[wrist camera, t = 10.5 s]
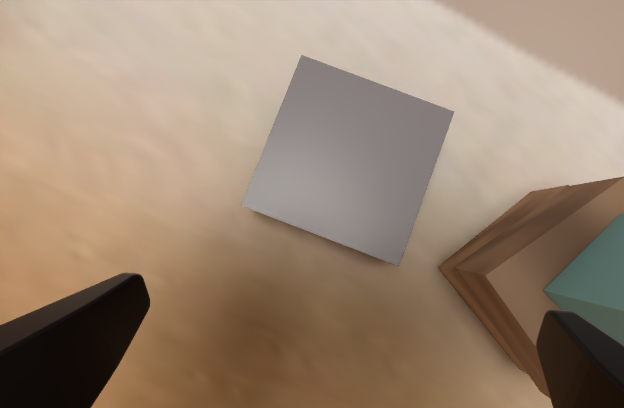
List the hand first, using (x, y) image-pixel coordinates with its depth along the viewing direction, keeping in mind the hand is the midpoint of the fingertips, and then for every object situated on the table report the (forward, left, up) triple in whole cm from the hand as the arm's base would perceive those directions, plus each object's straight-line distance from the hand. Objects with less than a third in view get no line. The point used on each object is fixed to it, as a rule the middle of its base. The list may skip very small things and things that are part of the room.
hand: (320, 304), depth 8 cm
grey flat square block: (+4, -4, -14) cm, 16 cm away
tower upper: (-7, -11, -11) cm, 17 cm away
